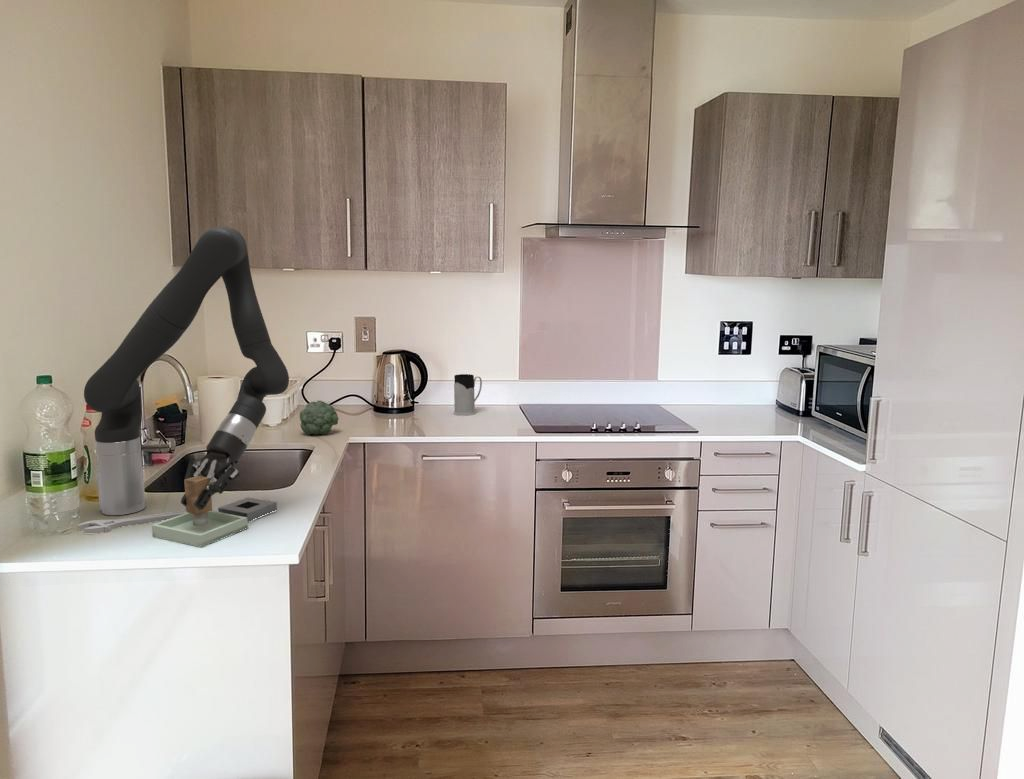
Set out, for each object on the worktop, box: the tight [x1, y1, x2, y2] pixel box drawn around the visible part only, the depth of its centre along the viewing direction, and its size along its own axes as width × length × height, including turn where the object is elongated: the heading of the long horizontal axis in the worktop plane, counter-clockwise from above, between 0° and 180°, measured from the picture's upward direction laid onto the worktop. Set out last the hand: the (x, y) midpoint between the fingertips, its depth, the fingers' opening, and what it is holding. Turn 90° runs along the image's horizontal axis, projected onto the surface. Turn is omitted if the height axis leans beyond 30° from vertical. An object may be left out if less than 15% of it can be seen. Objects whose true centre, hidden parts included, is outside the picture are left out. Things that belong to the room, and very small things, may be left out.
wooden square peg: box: [183, 475, 213, 526], centre depth 162 cm, size 4×4×10 cm
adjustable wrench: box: [77, 509, 187, 534], centre depth 169 cm, size 25×6×2 cm, turn 115°
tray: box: [151, 510, 249, 548], centre depth 162 cm, size 15×13×2 cm
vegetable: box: [299, 400, 339, 436], centre depth 260 cm, size 12×13×15 cm
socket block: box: [217, 496, 278, 523], centre depth 174 cm, size 9×9×2 cm
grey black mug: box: [453, 373, 483, 417], centre depth 295 cm, size 9×14×15 cm, turn 140°
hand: (191, 506), depth 160 cm, fingers closed on wooden square peg, 3 cm apart
